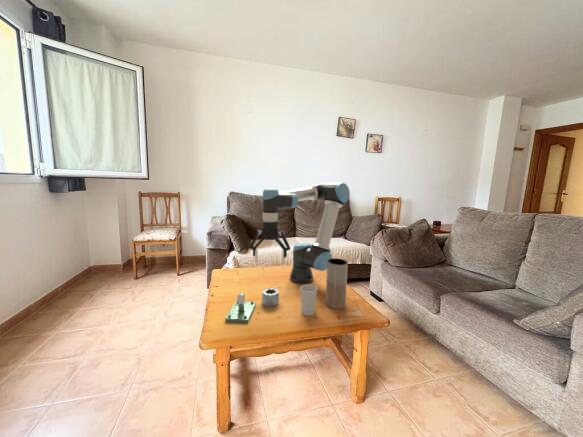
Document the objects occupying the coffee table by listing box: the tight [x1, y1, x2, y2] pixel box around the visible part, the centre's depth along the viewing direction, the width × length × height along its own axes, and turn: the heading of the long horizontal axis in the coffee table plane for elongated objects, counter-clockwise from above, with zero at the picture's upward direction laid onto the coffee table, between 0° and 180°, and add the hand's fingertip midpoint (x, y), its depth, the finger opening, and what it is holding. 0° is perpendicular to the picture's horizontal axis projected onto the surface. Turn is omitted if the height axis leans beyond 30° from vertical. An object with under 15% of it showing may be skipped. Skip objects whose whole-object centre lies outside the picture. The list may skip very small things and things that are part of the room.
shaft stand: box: [224, 292, 257, 324], centre depth 110 cm, size 10×16×9 cm, turn 176°
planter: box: [325, 257, 349, 310], centre depth 120 cm, size 10×10×23 cm
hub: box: [261, 287, 280, 308], centre depth 121 cm, size 8×8×6 cm
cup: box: [299, 284, 318, 316], centre depth 112 cm, size 8×8×12 cm
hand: (269, 263), depth 119 cm, fingers open, 13 cm apart
